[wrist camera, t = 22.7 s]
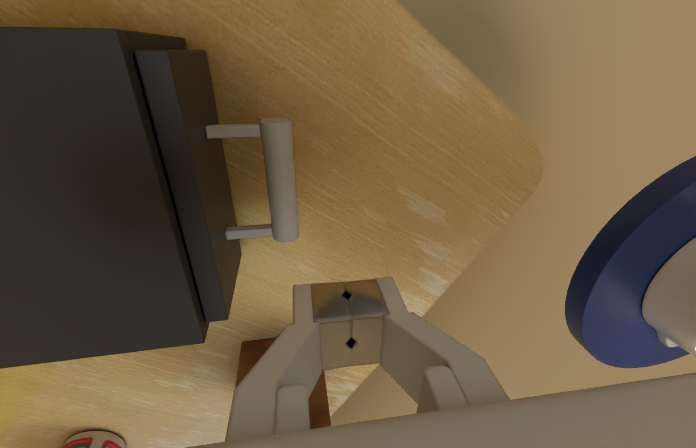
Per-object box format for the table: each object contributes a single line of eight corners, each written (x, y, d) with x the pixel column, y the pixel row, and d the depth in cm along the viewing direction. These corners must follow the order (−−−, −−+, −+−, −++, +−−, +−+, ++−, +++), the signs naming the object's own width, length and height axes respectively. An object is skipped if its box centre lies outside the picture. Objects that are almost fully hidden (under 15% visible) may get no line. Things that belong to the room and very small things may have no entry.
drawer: (285, 50, 19) (286, 50, 13) (300, 249, 25) (305, 311, 19) (-111, 48, 16) (-350, 45, 10) (19, 273, 22) (-79, 356, 16)
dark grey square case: (184, 38, 18) (115, 28, 11) (228, 256, 25) (204, 343, 18) (-157, 33, 16) (-553, 17, 8) (-6, 276, 23) (-149, 387, 15)
